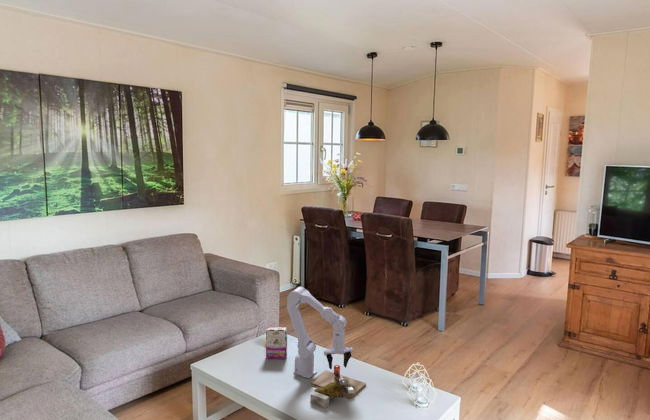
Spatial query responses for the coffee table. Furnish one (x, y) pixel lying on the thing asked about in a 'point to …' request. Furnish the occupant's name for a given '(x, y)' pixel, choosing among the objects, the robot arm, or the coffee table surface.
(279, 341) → the candy bar box
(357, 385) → the board
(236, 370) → the coffee table surface
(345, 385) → the lever
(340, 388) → the potato
